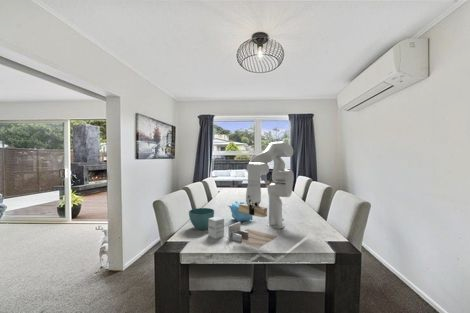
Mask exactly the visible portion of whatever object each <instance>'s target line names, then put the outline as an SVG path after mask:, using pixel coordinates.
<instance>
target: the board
mask: <svg viewBox="0 0 470 313" xmlns="http://www.w3.org/2000/svg"><path fill="white" fill-rule="evenodd" d="M243 231H246V232H248V236H249V238H245V237H242V241H241V242H238V241H235V240H233V241H234V242H238V243H241V244H243V245H244V244H245V245H248V246H250V247H255V248H257V249H260V248H262V247H263V246H264V245H267V244H268V243H269V242H271V241H273V240H274V239H276V238H277V237H278V235H273V234H269V233H266V232H262V231H258V230H254V229H250V228H247V229H245V230H243ZM226 239H228V237H227V238H226ZM228 240H231V239H228ZM231 241H232V240H231Z"/></svg>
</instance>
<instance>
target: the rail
mask: <svg viewBox="0 0 470 313" xmlns="http://www.w3.org/2000/svg"><path fill="white" fill-rule="evenodd" d="M253 208H254V215H252V217H253V216H254V217H258V218H259V217H260V218H266V217H268V207H265V206H260V205H259V206H254V207H253ZM239 213H243V214H248V215H250V214H249V206H248V205H247V204H239Z"/></svg>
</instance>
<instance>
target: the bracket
mask: <svg viewBox="0 0 470 313" xmlns="http://www.w3.org/2000/svg"><path fill="white" fill-rule="evenodd" d="M227 230H228V231H227V232H228V237H227V238H228V240H230V239H231V241H234V240H235V241H234V242H237V241H238V243H240V242H241V241H242V237H245V238H249V236H248V232H246V231H244V230H241V223H240V222H238V221H237V222H235V223H232V224H230V225H228V228H227Z"/></svg>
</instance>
